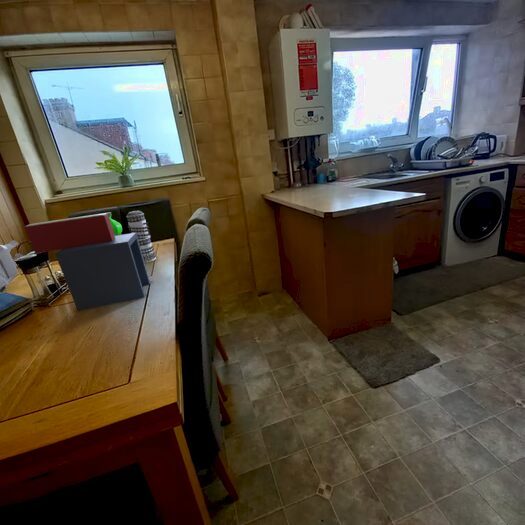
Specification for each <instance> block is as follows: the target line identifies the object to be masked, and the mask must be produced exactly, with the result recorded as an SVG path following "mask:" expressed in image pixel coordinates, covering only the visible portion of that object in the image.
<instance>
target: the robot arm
mask: <svg viewBox="0 0 525 525" xmlns="http://www.w3.org/2000/svg"><path fill="white" fill-rule="evenodd" d="M18 246H19V242H18V241H16V240H14V239H12V240H11V241H9V243H6V244H3V245H2V244H0V293H4V292H5V291H6V290H7V287H8V286H9V285H10V283H12V281H13V280H15V278H16V277H17V275H18V273H19V271H18V268H17V267H18V265H17V264H16V262H15V260H16V259H17V258H20V257H22V256H23V254H22V253H19V252H18V253H17V252H16V254H15V255H14V257H12V254H11V253H10V252H11V251H12V249H16V248H17V247H18Z"/></svg>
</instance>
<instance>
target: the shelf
mask: <svg viewBox="0 0 525 525" xmlns="http://www.w3.org/2000/svg"><path fill="white" fill-rule="evenodd" d="M54 255H55V257H56V260H57V262H58V265H59V267H60V270H61V272H62V275H63V278H64V280H65V284H66V285H67V287H68V290H69V293H70V295H71V297H72V301H73V303H74V305H75V308H76V310H77V311H82V310H87V309H93V308H97V307H102V306H107V305H112V304H117V303H122V302H127V301H133V300H138V299H143V298H145V296H146V295H145V292H144V287H143V286H146V285H150V283H151V281H150V278H149V274H148V270H147V267H146V263H144V259H143V256H142V252H141V249H140V245H139V242H138V238H137V235H136V233H131V232H130V233H125V234H121V235H118V236H115V239H114V240H113V241H110V242H104V243H98V244H91V245H85V246H79V247H73V248H67V249H61V250H57V252H55V253H54Z"/></svg>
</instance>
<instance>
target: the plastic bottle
mask: <svg viewBox="0 0 525 525" xmlns="http://www.w3.org/2000/svg"><path fill="white" fill-rule="evenodd" d="M105 213H106V214H107V213H108V216H109V219H110V222H111V225H112V229H113V232H114V235H115V236H118V235H122V232H123V227H122V224H121V223H120V222H118V221H117V220H115V219H112V215H113V214H112V212H111V211H108V212H105Z"/></svg>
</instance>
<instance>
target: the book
mask: <svg viewBox="0 0 525 525" xmlns="http://www.w3.org/2000/svg"><path fill="white" fill-rule="evenodd" d="M106 213H107V214H106ZM23 228H24V231H25V232H26V235H27V237H28V240H29V242H30V244H31V248H32V249H33V251H34V254H41V253H48V252H53V251H60V250H62V249H67V248H73V247H79V246H85V245H91V244H98V243H104V242H110V241H113V240H114V239H115V235H114V232H113V229H112V225H111V222H110V219H109V216H108V212H103V213H95V214H89V215H83V216H77V217H75V216H74V217H69V218H62V219H55V220H50V221H43V222H35V223H30V224H27V225H25V226H23Z"/></svg>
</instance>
